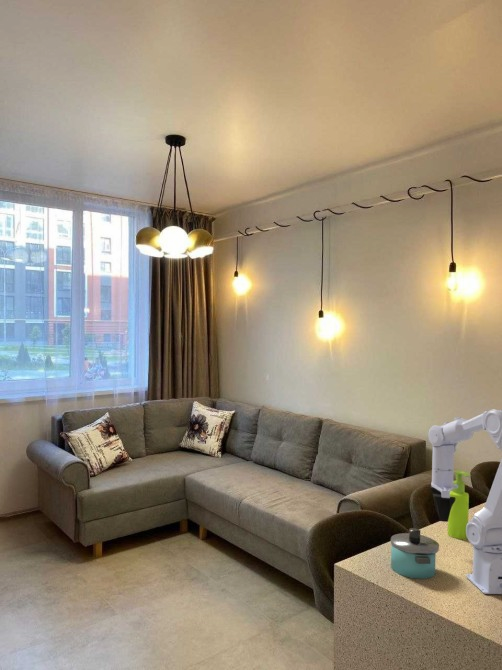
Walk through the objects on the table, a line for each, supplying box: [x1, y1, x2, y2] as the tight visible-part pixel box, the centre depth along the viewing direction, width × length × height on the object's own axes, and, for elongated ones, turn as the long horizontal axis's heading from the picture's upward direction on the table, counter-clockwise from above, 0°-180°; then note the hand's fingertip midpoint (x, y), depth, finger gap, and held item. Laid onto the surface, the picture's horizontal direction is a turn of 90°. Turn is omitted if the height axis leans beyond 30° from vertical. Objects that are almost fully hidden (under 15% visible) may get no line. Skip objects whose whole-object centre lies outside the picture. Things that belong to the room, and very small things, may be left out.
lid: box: [390, 527, 440, 555], centre depth 131 cm, size 12×12×4 cm
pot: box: [390, 544, 437, 580], centre depth 131 cm, size 14×11×6 cm
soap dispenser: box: [447, 469, 472, 540], centre depth 156 cm, size 6×7×20 cm
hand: (441, 516), depth 142 cm, fingers open, 7 cm apart
